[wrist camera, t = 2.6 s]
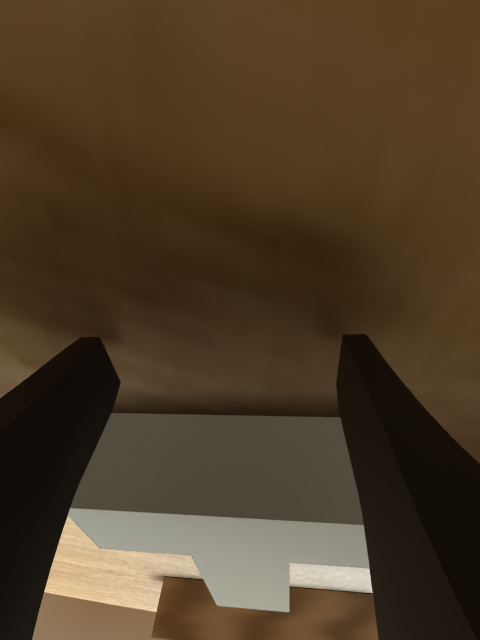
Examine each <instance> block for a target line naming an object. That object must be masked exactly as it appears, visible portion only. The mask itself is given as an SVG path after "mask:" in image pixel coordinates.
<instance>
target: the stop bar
mask: <svg viewBox="0 0 480 640" xmlns="http://www.w3.org/2000/svg"><path fill="white" fill-rule="evenodd" d="M151 637H152V638H153V639H154V640H378V632H377V624H376V615H375V607H374V599H373V594H365V593H353V592H341V591H329V590H317V589H305V588H293V587H289V612H280V611H269V610H258V609H247V608H236V607H225V606H217V605H216V603H215V601H214V599H213V597H212V595H211V593H210V591H209V589H208V587H207V585H206V583H205V581H204V580H196V579H184V578H172V577H164V581H163V585H162V590H161V595H160V599H159V604H158V608H157V613H156V618H155V622H154V627H153V631H152V636H151Z"/></svg>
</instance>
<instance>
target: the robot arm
mask: <svg viewBox="0 0 480 640" xmlns="http://www.w3.org/2000/svg"><path fill="white" fill-rule="evenodd" d="M336 385H337V394H338V403H339V411H340V418H341V423H342V427H343V431H344V436H345V440H346V444H347V449H348V453H349V457H350V461H351V465H352V470H353V474H354V478H355V482H356V487H357V491H358V495H359V501H360V506H361V511H362V517H363V524H364V531H365V538H366V545H367V552H368V560H369V568H370V575H371V583H372V591H373V599H374V607H375V615H376V624H377V632H378V640H480V464H479V463H478V462H477V461H476V460H475V459H474V458H473V457H472V456H471V455H470V454H469V453H468V452H467V451H466V450H464V449H463V448H462V447H461V446H460V445H459V444H458V443H457V442H456V441H455V440H454V439H453V438H452V437H451V436H450V435H449V434H448V433H447V431H446V430H445V429H444V428H443V427H442V426H441V425H440V424H439V423H438V422H437V421H436V420H435V419H434V418H433V417H432V416H431V414H430V413H429V412H428V411H427V410H426V409H425V408H424V407H423V406H422V404H421V403H420V402H419V401H418V400H417V399H416V398H415V396H414V395H413V394H412V393H411V392H410V390H409V389H408V388H407V387H406V386H405V384H404V383H403V382H402V381H401V380H400V378H399V377H398V376H397V375H396V373H395V372H394V371H393V370H392V368H391V367H390V366H389V364H388V363H387V362H386V361H385V359H384V358H383V357H382V355H381V354H380V352H379V351H378V350H377V348H376V347H375V346H374V344H373V343H372V341H371V340H370V338H369V337H368V336H367V335H366V334H353V335H343V336H342V344H341V351H340V359H339V367H338V375H337V383H336ZM119 386H120V380H119V378H118V375H117V373H116V371H115V369H114V367H113V365H112V362H111V360H110V358H109V356H108V354H107V352H106V349H105V347H104V345H103V343H102V341H101V339H100V337H81V338H79V339H78V340H77V341H75V342H74V343H72V344H71V345H69V346H68V347H67V348H65V349H64V350H63V351H62V352H60V353H59V354H58V355H56V356H55V357H54V358H53V359H51V360H50V361H49V362H47V363H46V364H45V365H44V366H42V367H41V368H40V369H38V370H37V371H36V372H35V373H33V374H32V375H31V376H29V377H28V378H27V379H26V380H24V381H23V382H22V383H20V384H19V385H18V386H16V387H15V388H14V389H12V390H11V391H10V392H8V393H7V394H6V395H4V396H3V397H1V398H0V640H32V637H33V633H34V629H35V625H36V620H37V616H38V612H39V608H40V605H41V601H42V597H43V594H44V590H45V587H46V583H47V580H48V576H49V572H50V569H51V565H52V562H53V559H54V556H55V553H56V549H57V546H58V543H59V540H60V537H61V533H62V530H63V527H64V525H65V522H66V519H67V516H68V513H69V510H70V507H71V504H72V501H73V498H74V496H75V493H76V491H77V488H78V486H79V484H80V481H81V479H82V477H83V475H84V472H85V470H86V468H87V466H88V464H89V461H90V459H91V457H92V455H93V453H94V451H95V448H96V446H97V444H98V442H99V440H100V437H101V435H102V433H103V431H104V429H105V426H106V424H107V422H108V420H109V417H110V415H111V413H112V410H113V406H114V403H115V400H116V397H117V393H118V390H119Z"/></svg>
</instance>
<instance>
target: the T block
mask: <svg viewBox="0 0 480 640" xmlns="http://www.w3.org/2000/svg"><path fill="white" fill-rule="evenodd" d="M68 516H69V517H70V518H71V519H72V520H73V521H74V522H75V524H76V525H77V526H78V527H79V528H80V529H81V530H82V531H83V532H84V533H85V534H86V535H87V536H88V537H89V538H90V539H91V540H92V541H93V542H94V543H95V544H96V545H97V546H98V547H99V549H110V550H123V551H137V552H151V553H164V554H178V555H191V556H192V558H193V560H194V562H195V564H196V566H197V568H198V570H199V572H200V574H201V576H202V578H203V580H204V581H205V583H206V585H207V587H208V589H209V591H210V593H211V595H212V597H213V599H214V601H215V603H216V605H217V606H225V607H236V608H247V609H258V610H269V611H280V612H289V563H301V564H315V565H328V566H342V567H356V568H369V560H368V552H367V545H366V538H365V531H364V524H363V517H362V511H361V506H360V501H359V495H358V491H357V487H356V482H355V478H354V474H353V470H352V465H351V461H350V457H349V453H348V449H347V444H346V440H345V436H344V431H343V427H342V423H341V418H340V417H292V416H241V415H190V414H138V413H111V415H110V417H109V420H108V422H107V424H106V426H105V429H104V431H103V433H102V435H101V437H100V440H99V442H98V444H97V446H96V448H95V451H94V453H93V455H92V457H91V459H90V461H89V464H88V466H87V468H86V470H85V472H84V475H83V477H82V479H81V481H80V484H79V486H78V488H77V491H76V493H75V496H74V498H73V501H72V504H71V507H70V510H69V513H68ZM369 569H370V568H369Z"/></svg>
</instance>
